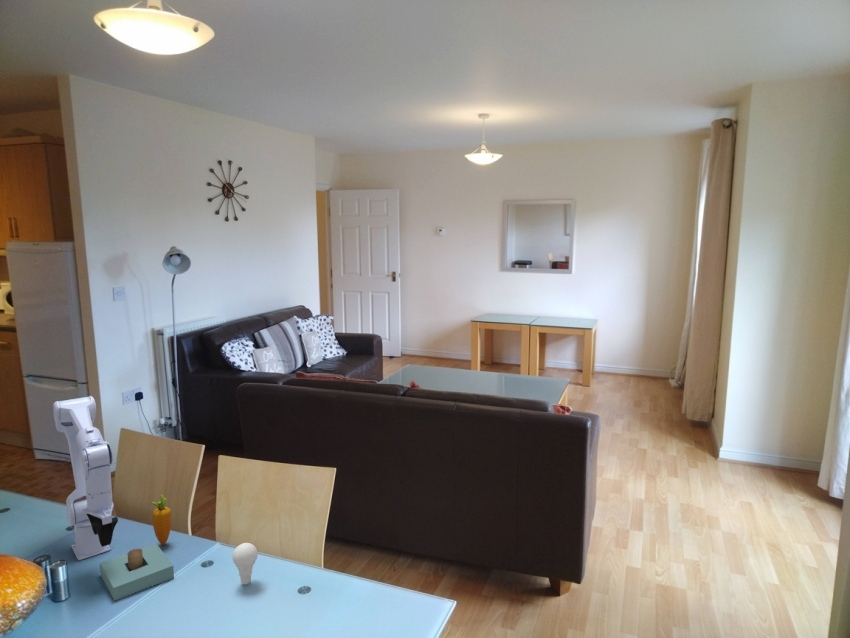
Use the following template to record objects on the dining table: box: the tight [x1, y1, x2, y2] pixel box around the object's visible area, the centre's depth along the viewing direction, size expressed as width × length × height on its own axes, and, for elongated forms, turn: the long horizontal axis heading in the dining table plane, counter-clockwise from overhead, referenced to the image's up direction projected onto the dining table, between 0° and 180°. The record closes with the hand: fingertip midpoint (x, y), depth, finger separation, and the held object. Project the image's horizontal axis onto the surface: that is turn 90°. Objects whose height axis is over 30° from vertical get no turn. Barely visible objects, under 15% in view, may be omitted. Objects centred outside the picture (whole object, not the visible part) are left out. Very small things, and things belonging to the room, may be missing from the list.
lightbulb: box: [232, 542, 258, 585], centre depth 139 cm, size 6×6×11 cm
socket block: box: [99, 543, 175, 602], centre depth 142 cm, size 14×14×4 cm
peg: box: [127, 548, 143, 572], centre depth 142 cm, size 3×3×7 cm
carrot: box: [151, 494, 172, 547], centre depth 156 cm, size 5×5×15 cm
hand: (102, 538), depth 142 cm, fingers open, 7 cm apart
